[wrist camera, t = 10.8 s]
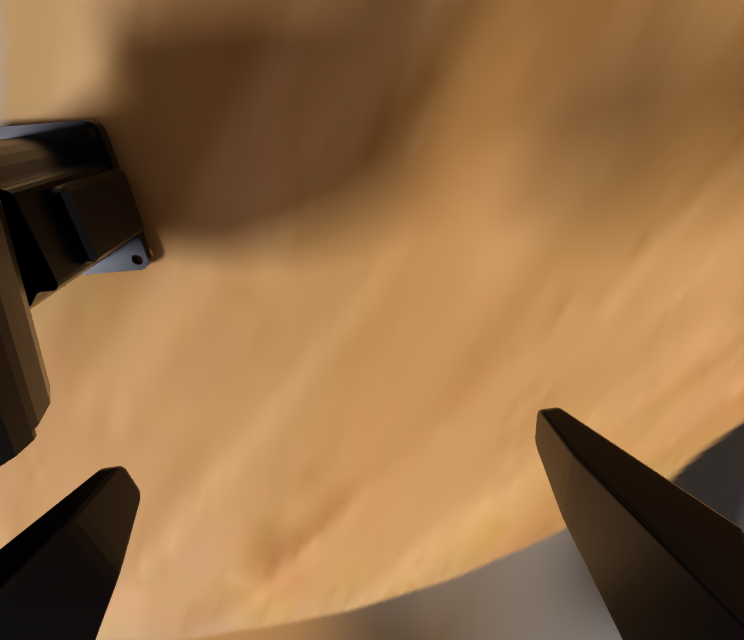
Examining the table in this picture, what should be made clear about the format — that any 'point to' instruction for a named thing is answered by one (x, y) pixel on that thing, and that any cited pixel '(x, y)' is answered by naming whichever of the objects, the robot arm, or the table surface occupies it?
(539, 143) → the table surface
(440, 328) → the table surface
